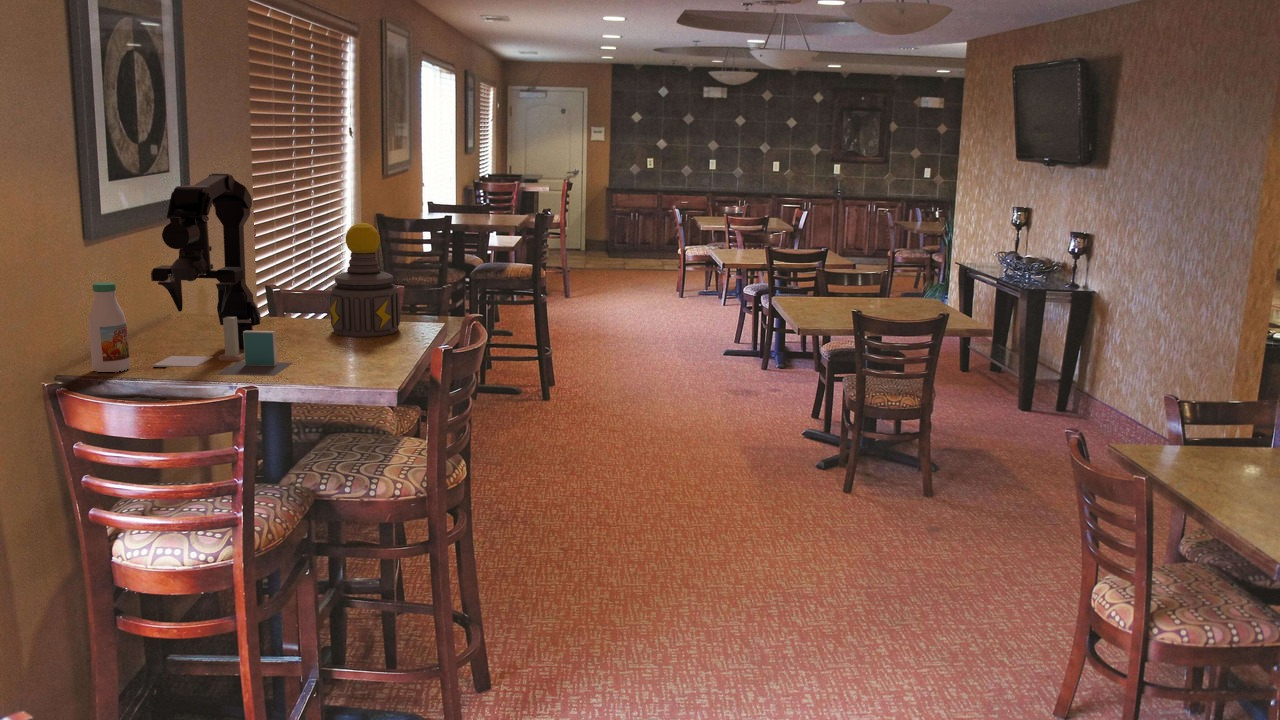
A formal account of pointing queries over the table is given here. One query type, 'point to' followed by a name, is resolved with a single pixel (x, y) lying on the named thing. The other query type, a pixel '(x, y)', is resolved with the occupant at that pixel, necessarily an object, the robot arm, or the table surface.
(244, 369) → the mat
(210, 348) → the table surface
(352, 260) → the decorative lamp
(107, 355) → the milk bottle
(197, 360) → the pad
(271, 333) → the tile
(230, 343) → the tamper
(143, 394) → the table surface
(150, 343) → the table surface
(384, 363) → the table surface
